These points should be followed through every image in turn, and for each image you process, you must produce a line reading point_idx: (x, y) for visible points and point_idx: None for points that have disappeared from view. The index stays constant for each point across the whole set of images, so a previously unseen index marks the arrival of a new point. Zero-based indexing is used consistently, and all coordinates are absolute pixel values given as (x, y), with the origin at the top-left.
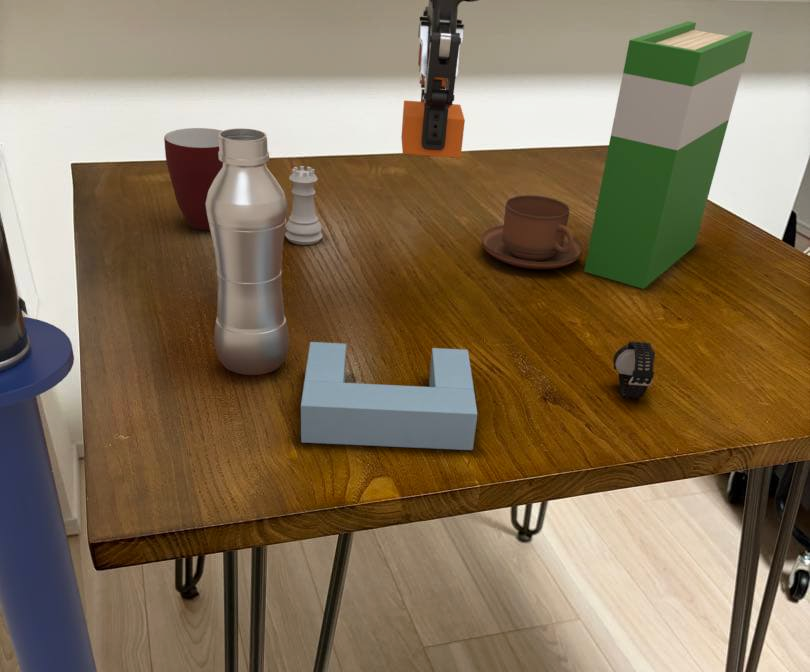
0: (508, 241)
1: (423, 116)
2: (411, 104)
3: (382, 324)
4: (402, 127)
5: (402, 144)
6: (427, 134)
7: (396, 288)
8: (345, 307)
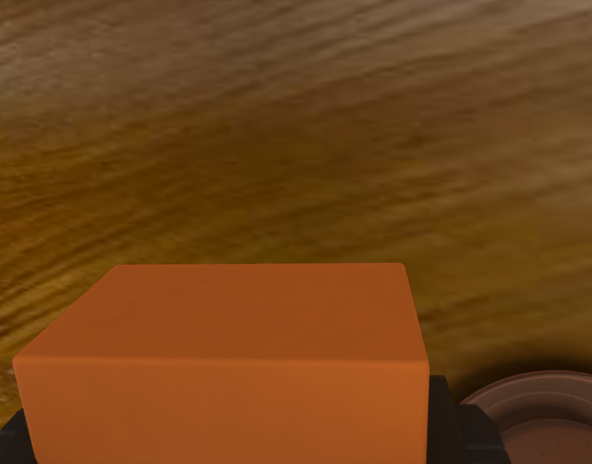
0: (520, 434)
1: (24, 461)
2: (311, 409)
3: (127, 123)
4: (345, 289)
5: (197, 270)
6: (7, 427)
7: (323, 152)
8: (193, 32)
